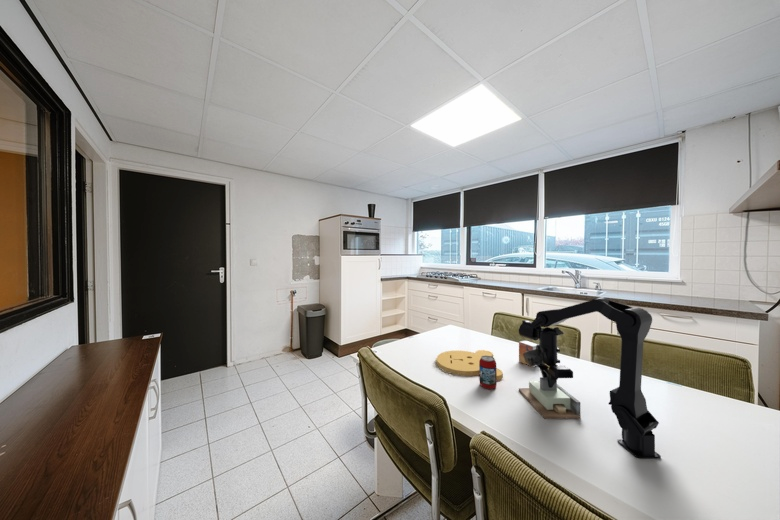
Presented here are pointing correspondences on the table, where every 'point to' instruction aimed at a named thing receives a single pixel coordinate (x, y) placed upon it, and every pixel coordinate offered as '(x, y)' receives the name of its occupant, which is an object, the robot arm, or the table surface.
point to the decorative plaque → (463, 362)
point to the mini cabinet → (548, 394)
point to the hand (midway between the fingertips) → (548, 385)
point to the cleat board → (542, 409)
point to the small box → (525, 350)
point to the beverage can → (488, 372)
